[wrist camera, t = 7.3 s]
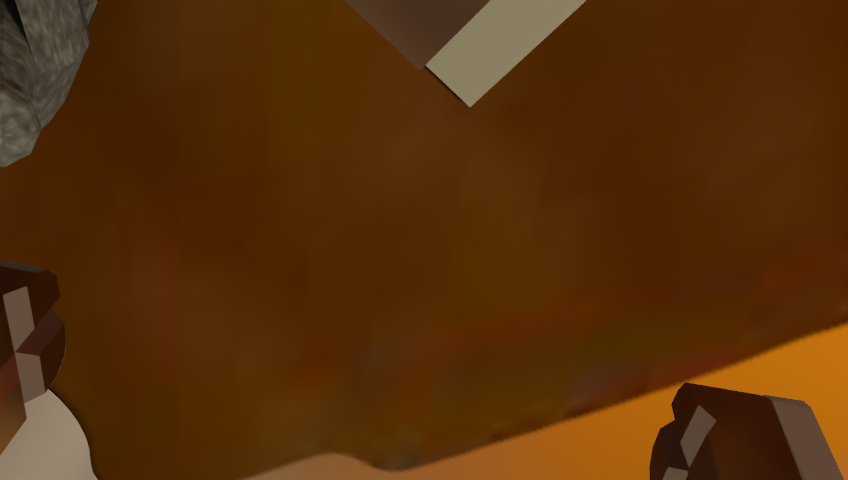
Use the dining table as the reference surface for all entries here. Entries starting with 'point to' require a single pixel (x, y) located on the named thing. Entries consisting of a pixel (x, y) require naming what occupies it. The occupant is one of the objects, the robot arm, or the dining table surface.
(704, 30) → the dining table surface
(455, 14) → the kicker sled
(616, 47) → the dining table surface
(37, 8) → the mortar and pestle
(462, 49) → the mat
